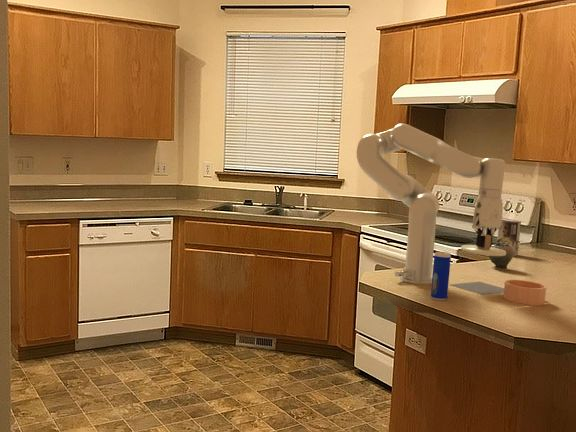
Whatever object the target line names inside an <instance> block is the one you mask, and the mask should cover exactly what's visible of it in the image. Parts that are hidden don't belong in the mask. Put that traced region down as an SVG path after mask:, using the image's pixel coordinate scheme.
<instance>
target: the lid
mask: <svg viewBox="0 0 576 432" xmlns="http://www.w3.org/2000/svg"><path fill="white" fill-rule="evenodd" d="M484 236H486V237H485V245H484V247H483V248H482V247H478V246H476V244H464V245H463V244H462V245H461V247H460V250H461V251H463V252H465V253H469V254H473V255H479V256H488V257H489V256H505V255H506V251H505V250H502V249H498V248H494V247H490V245H491V235H487V234H486V233H485V235H484Z"/></svg>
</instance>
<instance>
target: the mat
mask: <svg viewBox="0 0 576 432" xmlns="http://www.w3.org/2000/svg"><path fill="white" fill-rule="evenodd" d="M450 286H451V287H455V288H458V289H462V290H465V291H468V292H472V293H474V294H477V295H482V296H485V295H492V294H493V295H494V294H495V295H496V294H501V293H502V294H504V287H500V286H498V285H494V284H489V283H486V282H482V281H471V282H463V283H454V284H453V283H452V284H450Z"/></svg>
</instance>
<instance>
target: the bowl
mask: <svg viewBox="0 0 576 432" xmlns="http://www.w3.org/2000/svg"><path fill="white" fill-rule="evenodd" d="M503 288H504V292H503V298H504V299H505V300H506V301H510V302H512V303H517V304H521V305H522V304H523V305H530V306H531V307H532V306H534V307H535V306H536V307H539V306H545V303H546V297H547V288H548V286H547V285H545V284H544V283H540V282H535V281H532V280H531V281H530V280H524V279H523V280H522V279H509V280H508V279H507V280H505V282H504V286H503Z"/></svg>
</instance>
